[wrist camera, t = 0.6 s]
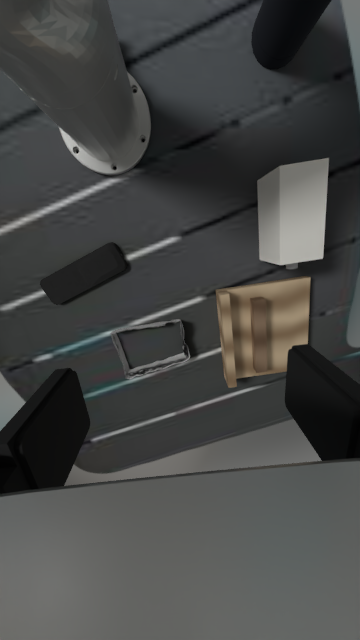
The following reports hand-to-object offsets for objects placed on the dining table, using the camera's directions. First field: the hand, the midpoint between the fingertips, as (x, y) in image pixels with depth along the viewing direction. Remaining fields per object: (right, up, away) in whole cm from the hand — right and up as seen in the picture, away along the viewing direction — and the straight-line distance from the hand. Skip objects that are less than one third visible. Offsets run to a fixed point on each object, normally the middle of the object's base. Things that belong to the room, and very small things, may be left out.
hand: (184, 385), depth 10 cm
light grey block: (+16, +19, +28) cm, 37 cm away
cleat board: (+15, +1, +34) cm, 37 cm away
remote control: (-17, +11, +30) cm, 36 cm away
